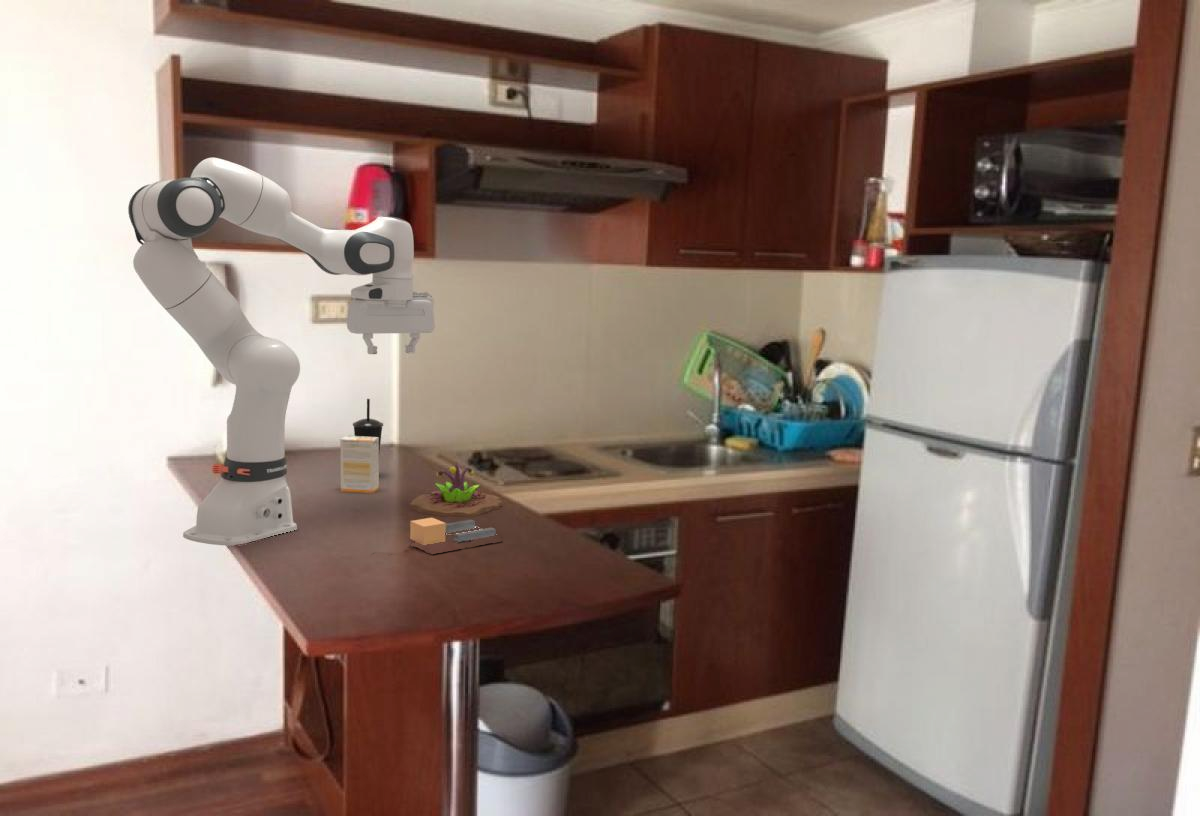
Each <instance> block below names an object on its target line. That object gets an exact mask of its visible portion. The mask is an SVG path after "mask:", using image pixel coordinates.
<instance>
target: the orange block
mask: <svg viewBox="0 0 1200 816" xmlns="http://www.w3.org/2000/svg"><path fill="white" fill-rule="evenodd" d="M446 524H447V523H446V522H444V521H441V520H439V519H437V518H434V517H426V518H421V519H415V520H410V523H409V527H410V528H409V530H410V532H409V539H410V540H411V541H413V542H414V541H415V542H417V543H420V544H422V545H427V544H434V543H439V542H445V541H446V535H445V533H446Z"/></svg>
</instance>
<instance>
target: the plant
mask: <svg viewBox="0 0 1200 816" xmlns="http://www.w3.org/2000/svg"><path fill="white" fill-rule="evenodd" d="M466 472H468V475H469V476H471V477H472V476H474V475H475V471H474V469H472V468H470V467H465V468H464V469H463V470H462V472H461V473H460V467H459V466H458V464H453V465H451V466H450V467H449V472H448V471H445V470H438V471H437V472H436V477H437V478H442V476H443V474H444V475H446V476H447V477H448V478H449V479H450V480H451V481H452V482H450V481H445V485H444V484H441V483H438V482H436V483H435V485H436V486H437V487H438V488H439V489H436V490H433V491H431V492H427V493H425V494H420V495H418V496H417V497H415V498H414V499H413V500H411V502H410V503H409V510H412V511H415V512H418V513H421V514H424V515H431V516H439V517H462V518H463V517H465V518H472V517H473V518H474V517H477V516H479V515H482V514H487V513H489V512H491V511H493V509H495V510H500V508H501V507H502V506H503V501H502V498H501V497H499V496H496V495H495V494H494V495H493V494H488V493H483V492H481V491H480V490H479V491H478V490H477V489H478V488H479V487H480V484H475V485H472V486H470V487H469V488H468V484H469V483H468V481H465V475H466ZM451 473H452V474H454V476H453V475H452V474H451ZM476 490H477V491H476ZM500 506H501V507H500ZM490 510H491V511H490Z"/></svg>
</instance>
